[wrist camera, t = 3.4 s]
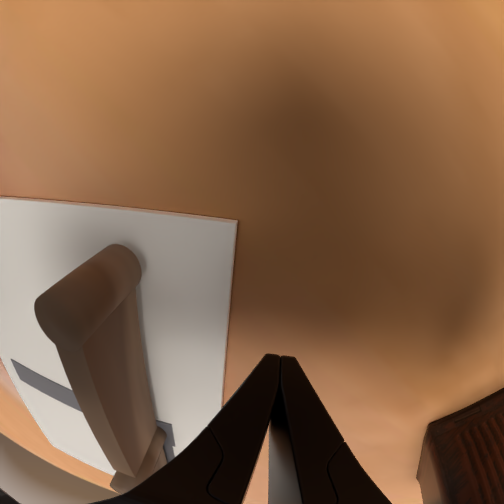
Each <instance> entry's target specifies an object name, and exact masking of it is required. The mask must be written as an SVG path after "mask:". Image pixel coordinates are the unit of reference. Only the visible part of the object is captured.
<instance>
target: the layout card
mask: <svg viewBox="0 0 504 504" xmlns="http://www.w3.org/2000/svg"><path fill="white" fill-rule="evenodd" d="M237 223H238V220H231V219H224V218H216V217H208V216H200V215H192V214H184V213H175V212H167V211H158V210H149V209H140V208H131V207H121V206H111V205H101V204H91V203H80V202H69V201H57V200H45V199H32V198H19V197H4V196H0V357H1V360H2V362H3V364H4V366H5V368H6V370H7V372H8V374H9V376H10V378H11V380H12V382H13V384H14V385H15V387H16V389H17V391H18V393H19V395H20V396H21V398H22V400H23V401H24V403H25V405H26V407H27V408H28V410H29V411H30V413H31V415H32V416H33V418H34V419H35V421H36V423H37V424H38V426H39V427H40V429H41V430H42V432H43V433H44V434H45V436H46V437H47V439H48V440H49V442H50V443H51V444H52V446H54V447H56V448H57V449H59V450H61V451H63V452H65V453H66V454H68V455H70V456H72V457H74V458H76V459H78V460H80V461H82V462H84V463H86V464H88V465H90V466H93V467H95V468H97V469H99V470H101V471H104V472H106V473H108V474H111V475H113V476H114V475H115V473H116V470H114V469H113V468H112V466H111V464H110V463H109V461H108V459H107V458H106V456H105V454H104V453H103V451H102V449H101V447H100V445H99V444H98V442H97V440H96V438H95V436H94V434H93V432H92V431H91V429H90V427H89V425H88V423H87V421H86V419H85V417H84V415H83V412H82V410H81V408H80V406H79V404H78V402H77V399H76V397H75V395H74V393H73V390H72V388H71V385H70V383H69V381H68V378H67V376H66V373H65V370H64V368H63V365H62V362H61V360H60V357H59V354H58V351H57V348H56V345H55V344H54V343H53V342H52V341H51V340H50V339H49V338H48V337H47V336H46V335H45V333H44V332H43V331H42V329H41V327H40V326H39V324H38V321H37V319H36V316H35V311H34V303H35V300H36V299H37V297H39V296H40V295H41V294H42V293H44V292H45V291H46V290H48V289H49V288H50V287H51V286H53V285H54V284H55V283H57V282H58V281H59V280H61V279H62V278H63V277H65V276H66V275H68V274H69V273H70V272H72V271H73V270H74V269H76V268H77V267H78V266H80V265H81V264H83V263H84V262H85V261H87V260H88V259H90V258H91V257H93V256H94V255H95V254H97V253H98V252H100V251H101V250H103V249H104V248H106V247H107V246H109V245H111V244H120V245H123V246H125V247H127V248H128V249H130V250H131V251H132V252H133V253H134V254H135V256H136V257H137V259H138V260H139V263H140V265H141V270H142V276H141V280H140V282H139V284H138V285H137V286H136V298H137V308H138V317H139V326H140V334H141V341H142V348H143V355H144V362H145V368H146V374H147V380H148V385H149V390H150V396H151V401H152V406H153V410H154V415H155V420H156V424H157V426H159V427H160V428H162V429H163V430H164V431H165V432H166V434H167V437H166V440H165V442H164V445H163V449H164V453H165V457H166V461H167V463H168V462H170V461H171V460H172V459H173V458H175V457H176V456H177V455H178V454H179V453H180V452H182V451H183V450H184V449H185V448H186V447H187V446H188V445H189V444H190V443H191V442H192V441H193V440H194V439H195V438H196V437H197V436H198V435H199V434H200V433H201V431H202V430H203V429H204V428H205V427H207V425H208V424H209V423H210V421H211V420H212V419H213V418H214V417H215V416H216V414H217V413H218V412H219V411H220V410H221V409H222V404H223V389H224V376H225V362H226V349H227V336H228V324H229V312H230V300H231V288H232V277H233V266H234V255H235V244H236V233H237Z"/></svg>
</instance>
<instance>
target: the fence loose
mask: <svg viewBox="0 0 504 504" xmlns="http://www.w3.org/2000/svg"><path fill="white" fill-rule="evenodd" d="M141 276H142V270H141V265H140V263H139V260H138V259H137V257H136V256H135V254H134V253H133V252H132V251H131V250H130V249H128V248H127V247H125V246H123V245H120V244H111V245H109V246H107V247H106V248H104V249H103V250H101V251H100V252H98V253H97V254H95V255H94V256H93V257H91V258H90V259H88V260H87V261H85V262H84V263H83V264H81V265H80V266H78V267H77V268H76V269H74V270H73V271H72V272H70V273H69V274H68V275H66V276H65V277H63V278H62V279H61V280H59V281H58V282H57V283H55V284H54V285H53V286H51V287H50V288H49V289H48V290H46V291H45V292H44V293H42V294H41V295H40V296H39V297H37V299H36V300H35V303H34V311H35V316H36V319H37V321H38V324H39V326H40V327H41V329H42V331H43V332H44V333H45V335H46V336H47V337H48V338H49V339H50V340H51V341H52V342H53V343H54V344H55V345H56V348H57V351H58V354H59V357H60V360H61V362H62V365H63V368H64V370H65V373H66V376H67V378H68V381H69V383H70V385H71V388H72V390H73V393H74V395H75V397H76V399H77V402H78V404H79V406H80V408H81V410H82V412H83V415H84V417H85V419H86V421H87V423H88V425H89V427H90V429H91V431H92V432H93V434H94V436H95V438H96V440H97V442H98V444H99V445H100V447H101V449H102V451H103V453H104V454H105V456H106V458H107V459H108V461H109V463H110V464H111V466H112V468H113V469H114V470H116V471H118V472H121V473H123V474H126V475H129V476H131V477H134V478H136V475H137V473H138V471H139V468H140V466H141V464H142V461H143V459H144V457H145V454H146V452H147V450H148V447H149V445H150V443H151V440H152V438H153V436H154V434H155V431H156V429H157V424H156V420H155V415H154V410H153V406H152V401H151V396H150V390H149V385H148V380H147V374H146V368H145V362H144V355H143V348H142V341H141V334H140V326H139V317H138V308H137V298H136V286H137V285H138V284H139V282H140V280H141Z"/></svg>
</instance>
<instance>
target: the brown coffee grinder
mask: <svg viewBox="0 0 504 504" xmlns="http://www.w3.org/2000/svg"><path fill="white" fill-rule="evenodd" d="M416 478H417V480H418V481H419V484H420V488H421V493H422V499H423V504H504V388H503V389H501V390H499V391H497V392H495V393H493V394H491V395H489V396H488V397H486V398H484V399H482V400H480V401H478V402H476V403H474V404H472V405H470V406H468V407H466V408H464V409H462V410H460V411H458V412H456V413H454V414H452V415H449V416H447V417H445V418H443V419H440V420H438V421H436V422H433V423H431V424H429V426H428V429H427V432H426V435H425V438H424V442H423V448H422V453H421V458H420V462H419V467H418V471H417V477H416Z"/></svg>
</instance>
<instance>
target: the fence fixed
mask: <svg viewBox="0 0 504 504" xmlns="http://www.w3.org/2000/svg"><path fill="white" fill-rule="evenodd" d="M166 437H167V434H166V432H165V431H164V430H163V429H162V428H160V427H159V426H157V429H156V431H155V434H154V436H153V438H152V440H151V443H150V445H149V447H148V450H147V452H146V454H145V457H144V459H143V461H142V464H141V466H140V468H139V471H138V473H137V475H136V478H134V477H131V476H129V475H126V474H123V473H121V472H118V471H116V473H115V475H114V477H113V479H112V481H111V483H110V487H111V488H113V489H114V490H115V491H117V492H118V493H120V494H124V493H126V492H128V491H129V490H131V489H133V488H134V487H136V486H137V485H139V484H140V483H142V482H143V481H144V480H146V479H147V478H148V477H150V476H151V475H153V474H154V473H155V472H157V471H158V470H159V469H161V468H162V467H163V466H164V465H166V464H167V461H166V457H165V453H164V449H163V445H164V442H165V440H166Z"/></svg>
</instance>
